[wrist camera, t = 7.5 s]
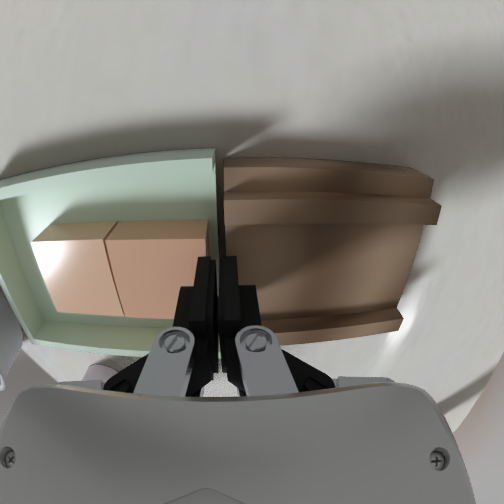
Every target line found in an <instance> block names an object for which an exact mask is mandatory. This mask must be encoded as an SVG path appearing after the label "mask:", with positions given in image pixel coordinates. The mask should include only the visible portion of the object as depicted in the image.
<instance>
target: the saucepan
mask: <svg viewBox="0 0 504 504" xmlns="http://www.w3.org/2000/svg"><path fill="white" fill-rule="evenodd" d="M22 343H23V333H22V330H21V326H20V323H19V321H18V319H17V317H16V316H15V314H14V312H13V310H12V308H11V306H10V304H9V302H8V300H7V298H6V296H5V295H4V293H3V291H2V290H1V289H0V391H3V390H4V389H5V388H6V382H5V378H6V375H7V373H8V371H9V369H10V367H11V365H12V363H13V361H14V359H15V357H16V355H17V354H18V352H19V349H20V348H21V346H22Z"/></svg>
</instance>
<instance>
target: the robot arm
mask: <svg viewBox="0 0 504 504" xmlns="http://www.w3.org/2000/svg"><path fill="white" fill-rule="evenodd" d="M219 342H220V353H221V363H222V372H223V373H227V377H228V381H229V382H231V383H232V384H233V385H235V386H236V387H237V392H238V396H239V397H203V394H204V386H205V385H206V384H208V383H209V382H210V381H211V380H213V373H218V352H219ZM0 504H476V502H475V498H474V494H473V490H472V486H471V483H470V479H469V476H468V473H467V470H466V467H465V464H464V461H463V459H462V456H461V453H460V451H459V448H458V445H457V443H456V440H455V438H454V436H453V433H452V431H451V429H450V427H449V425H448V423H447V421H446V419H445V417H444V415H443V413H442V411H441V410H440V408H439V406H438V405H437V403H436V402H435V400H434V399H433V398H432V397H431V396H430V395H429V393H427V392H426V391H425V390H424V389H422V388H420V387H417V386H414V385H410V384H404V383H396V382H394V381H393V380H391V379H389V378H384V377H341V376H338V379H331V377H329V376H328V375H326V374H325V373H323V372H321V371H319V370H318V369H316V368H314V367H312V366H310V365H309V364H307V363H305V362H303V361H302V360H300V359H298V358H296V357H295V356H293V355H291V354H289V353H288V352H286V351H284V350H282V349H281V347H280V345H279V343H278V340H277V338H276V336H275V334H274V333H273V332H272V331H271V330H270V329H268V328H266V327H264V326H262V325H261V318H260V311H259V304H258V298H257V291H256V285H239V284H238V268H237V256H224V259H219V285H218V289H217V273H216V260H211V256H202V257H198V260H197V266H196V272H195V279H194V285H193V286H181V287H180V291H179V295H178V300H177V305H176V311H175V316H174V321H173V326H172V327H170V328H167V329H165V330H163V331H161V332H160V333H159V334H158V335H157V337H156V338H155V341H154V343H153V345H152V348H151V350H150V352H149V354H147V355H145V356H144V357H142V358H141V359H139V360H137V361H136V362H134V363H133V364H131V365H130V366H128V367H126V368H125V369H123V370H122V371H120V372H118V373H117V374H115V375H113V376H112V377H111V378H109V379H108V380H107V381H106V382H102V380H87V381H70V382H59V383H56V384H53V385H40V386H35V387H30V388H27V389H25V390H23V391H21V392H20V393H19V394H18V395H17V396H16V397H15V398H14V400H13V401H12V403H11V405H10V406H9V409H8V410H7V413H6V415H5V417H4V420H3V422H2V425H1V428H0Z"/></svg>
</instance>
